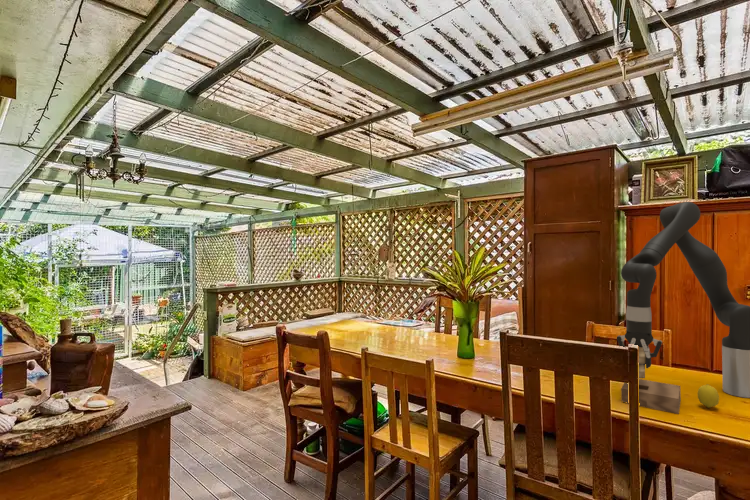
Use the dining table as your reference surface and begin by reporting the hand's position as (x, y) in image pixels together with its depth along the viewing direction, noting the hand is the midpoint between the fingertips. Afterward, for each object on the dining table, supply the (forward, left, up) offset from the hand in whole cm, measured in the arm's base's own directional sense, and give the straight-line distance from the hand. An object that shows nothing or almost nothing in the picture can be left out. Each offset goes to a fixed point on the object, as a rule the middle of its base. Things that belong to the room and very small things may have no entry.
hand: (639, 366), depth 138 cm
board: (-3, -2, -12) cm, 13 cm away
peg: (0, 0, -4) cm, 4 cm away
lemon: (-19, -6, -13) cm, 23 cm away
